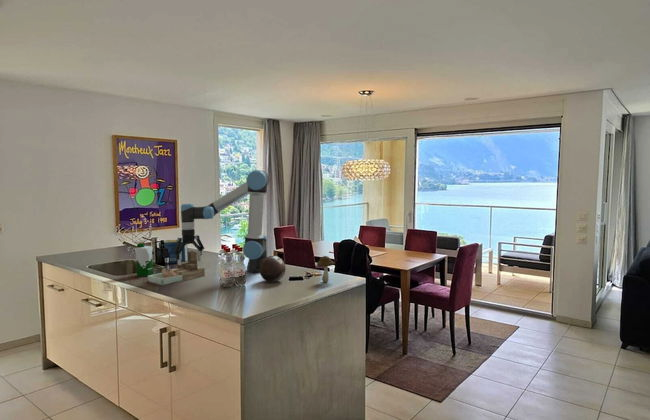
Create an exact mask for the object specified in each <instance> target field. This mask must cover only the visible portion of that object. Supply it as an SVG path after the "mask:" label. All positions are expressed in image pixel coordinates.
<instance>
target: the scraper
mask: <svg viewBox="0 0 650 420" xmlns="http://www.w3.org/2000/svg"><path fill="white" fill-rule="evenodd" d="M187 251H188V252H187V259H188V260H187V261H186V262H181V265H178V263H176V264H177V268H182V269H186V270H191V271H193V270H198V267H199V266H198V261H197V250H195V251H194V250H187Z"/></svg>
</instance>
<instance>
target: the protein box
mask: <svg viewBox="0 0 650 420" xmlns="http://www.w3.org/2000/svg"><path fill="white" fill-rule="evenodd" d="M163 242H164V245H165V248H167V249H168V252H169V263H168V264H177V263H178V260H177V259H176V254H174V253H173V251H174V248H175V246H176V243H177V239H172V240H171V239H167V240H164V241H163ZM182 242H183V240H182V241H181V243H182ZM180 246H181V244H180ZM180 246H179V247H180ZM188 251H189V250H188V244H186V245H185V246H184V248H183V249H182V251H181V252H180V254H181V262H188V259H187V252H188Z"/></svg>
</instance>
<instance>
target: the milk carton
mask: <svg viewBox="0 0 650 420" xmlns="http://www.w3.org/2000/svg"><path fill="white" fill-rule="evenodd" d="M153 249H154V248H153V246H151V245H145V243H137V244H136V247H134V251H135V259H136V260H135V261H136V263H135V264H136V277H146V278H148V275H154V267H153V266H154V265H153Z"/></svg>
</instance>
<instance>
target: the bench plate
mask: <svg viewBox="0 0 650 420" xmlns="http://www.w3.org/2000/svg"><path fill="white" fill-rule="evenodd" d="M170 270H172V271H174V272H175V273H176V274H177V275H176V276H179V275H182V280H183V281H182V282H184V281H188V280H193V279H196V278H202V277H206V275H205V274H206V272H205V271H206V270H205V267H201V266H198V270H193V271H191V270H186V269H182V268H178V267H175V268H169V269H168V272H169V271H170Z"/></svg>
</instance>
